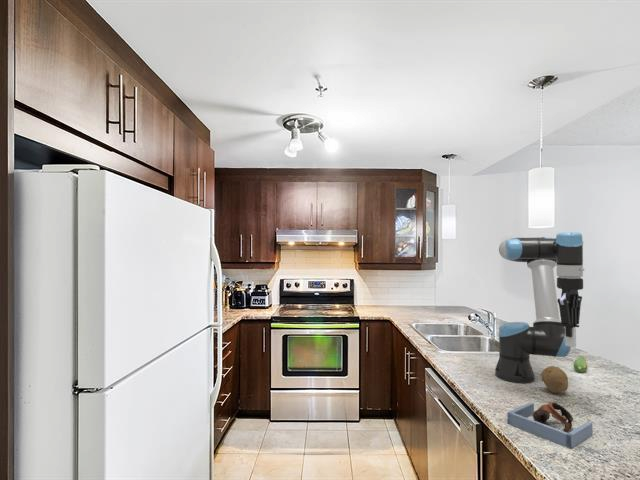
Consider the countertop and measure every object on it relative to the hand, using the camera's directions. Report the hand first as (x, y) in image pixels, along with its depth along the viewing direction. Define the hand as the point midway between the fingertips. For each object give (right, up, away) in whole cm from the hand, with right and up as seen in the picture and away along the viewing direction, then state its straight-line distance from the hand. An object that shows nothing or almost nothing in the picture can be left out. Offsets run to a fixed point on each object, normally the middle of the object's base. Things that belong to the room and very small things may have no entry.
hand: (570, 345), depth 126 cm
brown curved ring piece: (-15, -22, -12) cm, 29 cm away
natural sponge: (+5, -23, +16) cm, 28 cm away
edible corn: (+36, -24, +46) cm, 63 cm away
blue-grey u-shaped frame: (-16, -22, -13) cm, 30 cm away
